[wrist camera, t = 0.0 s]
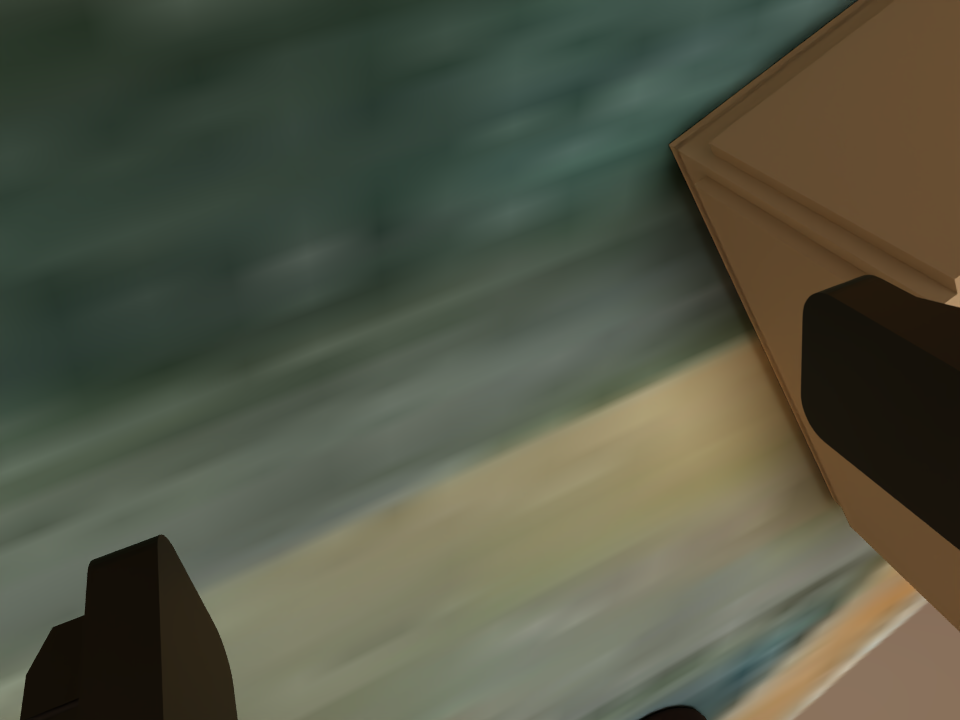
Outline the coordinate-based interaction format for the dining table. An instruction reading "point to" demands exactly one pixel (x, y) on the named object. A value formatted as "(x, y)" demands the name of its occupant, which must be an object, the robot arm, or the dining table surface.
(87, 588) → the robot arm
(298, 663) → the dining table surface
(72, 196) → the dining table surface
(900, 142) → the carton
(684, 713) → the bottle
